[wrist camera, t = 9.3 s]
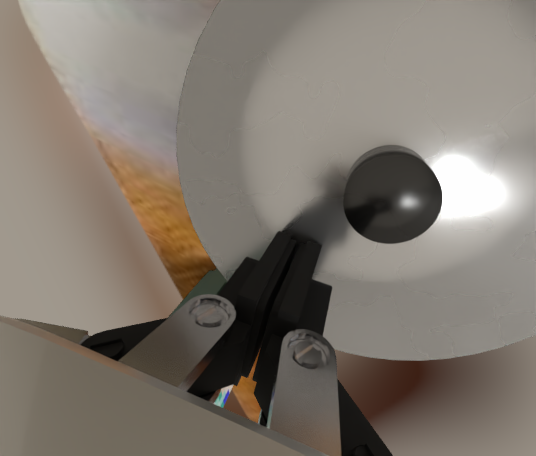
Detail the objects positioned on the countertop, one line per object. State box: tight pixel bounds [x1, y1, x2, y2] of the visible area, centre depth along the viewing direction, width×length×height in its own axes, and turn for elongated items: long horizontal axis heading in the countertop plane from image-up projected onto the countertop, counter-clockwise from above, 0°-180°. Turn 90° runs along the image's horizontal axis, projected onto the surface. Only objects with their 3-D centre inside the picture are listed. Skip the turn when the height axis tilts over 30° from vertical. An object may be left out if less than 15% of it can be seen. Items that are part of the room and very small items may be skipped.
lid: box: [177, 0, 536, 361], centre depth 9 cm, size 15×14×2 cm
